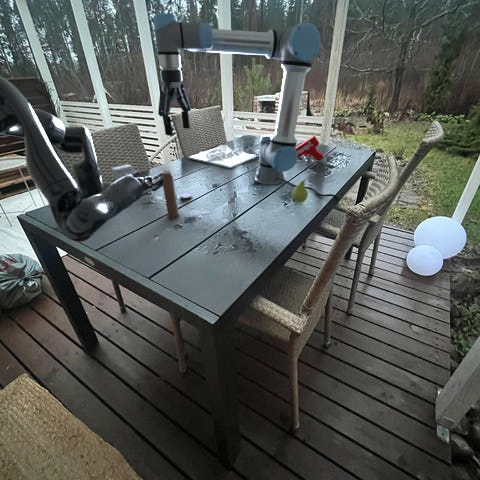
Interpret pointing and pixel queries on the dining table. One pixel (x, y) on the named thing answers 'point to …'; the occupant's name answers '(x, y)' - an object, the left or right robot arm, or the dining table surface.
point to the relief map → (223, 156)
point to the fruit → (300, 192)
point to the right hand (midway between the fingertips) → (178, 131)
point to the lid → (185, 197)
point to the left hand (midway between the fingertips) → (149, 174)
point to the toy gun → (309, 149)
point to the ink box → (122, 170)
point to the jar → (170, 194)
